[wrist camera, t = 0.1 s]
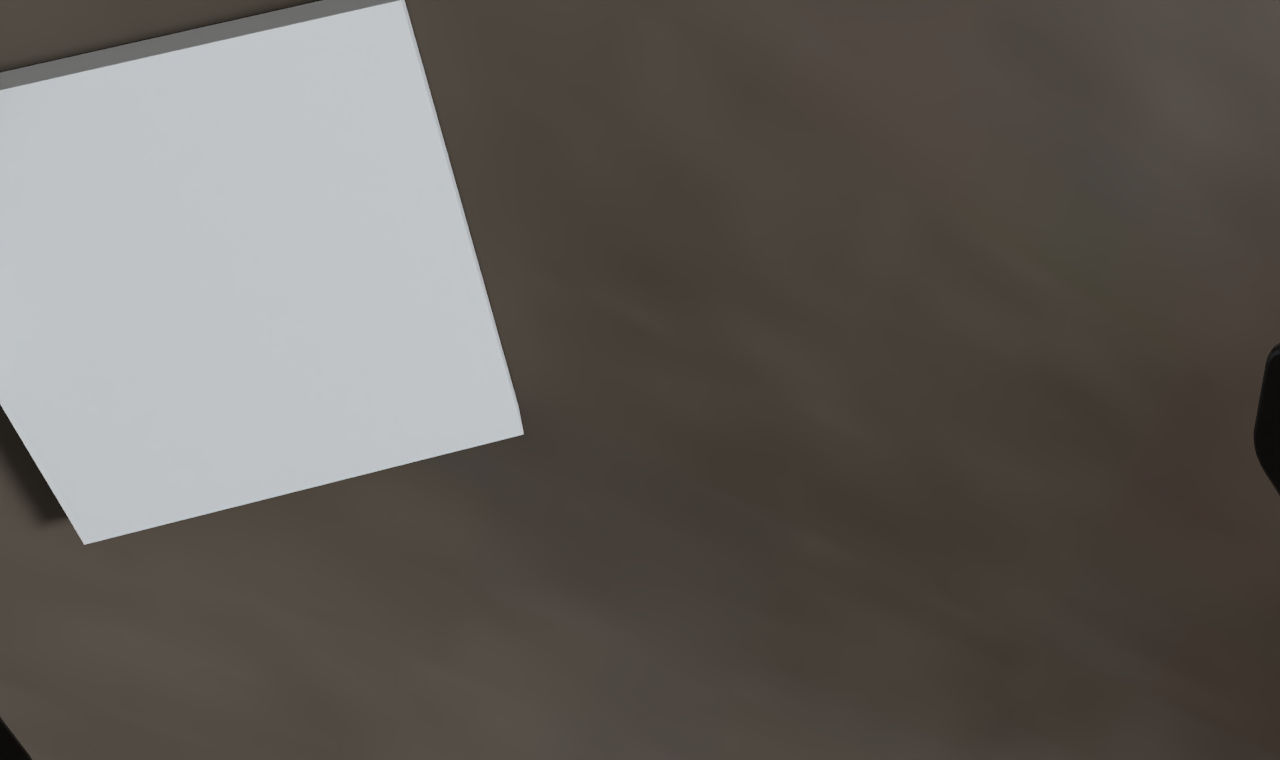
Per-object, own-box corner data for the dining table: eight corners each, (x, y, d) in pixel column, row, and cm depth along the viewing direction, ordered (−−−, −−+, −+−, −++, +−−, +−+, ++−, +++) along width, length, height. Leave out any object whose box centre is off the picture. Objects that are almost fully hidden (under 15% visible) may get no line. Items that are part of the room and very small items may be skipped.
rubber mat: (518, 406, 25) (524, 434, 24) (93, 512, 24) (84, 544, 24) (399, -17, 20) (400, 0, 19) (-144, 104, 19) (-166, 127, 18)
